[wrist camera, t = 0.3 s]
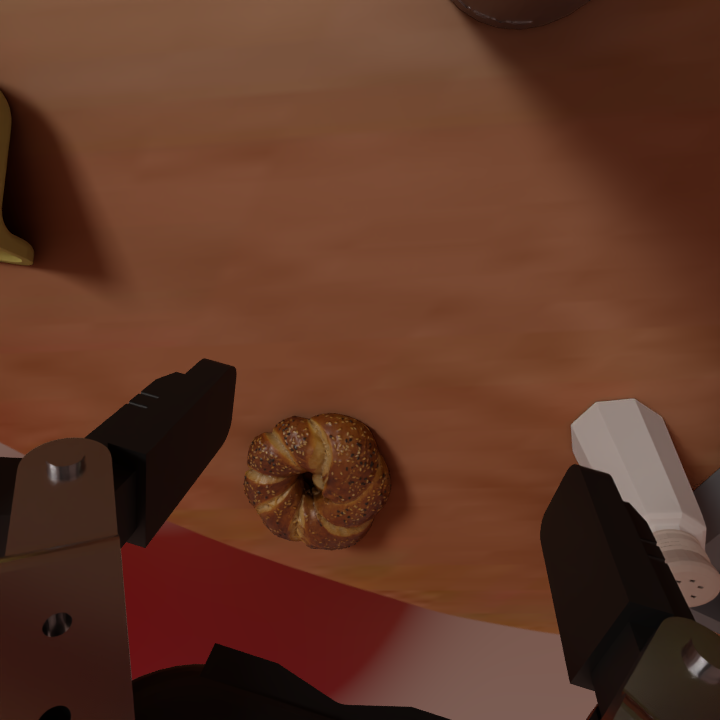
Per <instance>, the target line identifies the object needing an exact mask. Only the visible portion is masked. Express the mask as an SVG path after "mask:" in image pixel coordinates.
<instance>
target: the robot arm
mask: <svg viewBox="0 0 720 720" xmlns="http://www.w3.org/2000/svg"><path fill="white" fill-rule="evenodd" d="M452 1H453V2H454V3H455V5H456V6H457V7H458V8H459V9H461V10H462V11H464V12H465V13H467V14H468V15H470V16H471V17H473V18H474V19H476V20H477V21H480V22H483V23H486V24H489V25H491V26H494V27H497V28H509V29H525V28H531V27H537V26H542V25H546V24H548V23H551V22H553V21H555V20H558V19H560V18H563V17H565V16H568V15H569V14H571V13H572V12H574V11H575V10H577V9H578V8H580V7H581V6H583V5H584V4H586V3H587V2H589V1H590V0H452ZM235 384H236V368H235V367H234V366H230V365H227V364H223V363H220V362H216V361H212V360H209V359H202V360H200V361H199V362H198V363H197V364H196V365H195V366H194V367H192V368H191V369H190V370H189V371H188V372H187V373H186V374H182V373H178V372H175V373H172V374H169V375H167V376H164V377H161V378H159V379H156V380H155V381H153V382H152V383H151V384H150V385H149V386H147V387H146V388H145V389H144V390H142V391H141V394H138V395H136V396H135V397H134V398H133V399H131V400H130V401H129V404H125V405H124V406H123V407H122V408H120V409H119V410H118V411H117V412H116V413H114V414H113V415H112V416H111V417H109V418H108V419H107V420H106V421H105V422H103V423H102V424H101V425H100V426H98V427H97V428H96V429H95V430H93V431H92V432H91V433H90V434H89V435H87V436H86V437H85V438H64V439H58V440H54V441H50V442H48V443H45V444H42V445H40V446H38V447H36V448H35V449H33V450H31V451H30V452H29V453H27V454H26V455H25V456H24V457H23V458H8V457H0V720H450V719H447V718H444V717H441V716H438V715H435V714H432V713H429V712H426V711H422V710H419V709H416V708H413V707H395V706H364V705H344V704H340V703H337V702H335V701H334V700H332V699H331V698H329V697H328V696H326V695H325V694H323V693H322V692H320V691H318V690H317V689H316V688H314V687H313V686H311V685H310V684H308V683H307V682H305V681H303V680H302V679H301V678H299V677H297V676H296V675H294V674H293V673H291V672H290V671H288V670H287V669H285V668H284V667H282V666H281V665H279V664H278V663H275V662H272V661H269V660H265V659H263V658H260V657H256V656H253V655H250V654H247V653H244V652H241V651H238V650H235V649H232V648H229V647H225V646H222V645H220V644H216V643H215V645H214V647H213V649H212V651H211V653H210V655H209V657H208V659H207V661H206V664H192V665H182V666H175V667H171V668H166V669H162V670H158V671H155V672H152V673H149V674H146V675H143V676H141V677H138V678H136V679H134V680H132V678H131V666H130V654H129V644H128V643H129V642H128V630H127V618H126V606H125V595H124V583H123V571H122V560H121V548H122V546H123V545H124V544H125V543H126V542H128V543H131V544H134V545H138V546H141V547H144V548H146V546H147V545H148V544H149V542H150V541H151V540H152V538H153V537H154V536H155V534H156V533H157V532H158V530H159V529H160V528H161V526H162V525H163V524H164V522H165V521H166V520H167V518H168V517H169V516H170V514H171V513H172V512H173V510H174V509H175V508H176V506H177V505H178V504H179V502H180V501H181V500H182V498H183V497H184V496H185V494H186V493H187V492H188V490H189V489H190V488H191V486H192V485H193V484H194V482H195V481H196V480H197V478H198V477H199V476H200V474H201V473H202V472H203V470H204V469H205V468H206V466H207V465H208V464H209V462H210V461H211V460H212V458H213V457H214V456H215V454H216V453H217V452H218V450H219V449H220V448H221V446H222V445H223V443H224V442H225V440H226V437H227V435H228V432H229V429H230V426H231V420H232V412H233V403H234V393H235ZM540 540H541V545H542V550H543V555H544V560H545V564H546V569H547V574H548V579H549V584H550V589H551V593H552V598H553V603H554V608H555V613H556V618H557V622H558V627H559V632H560V637H561V641H562V646H563V651H564V656H565V661H566V666H567V670H568V676H569V680H570V683H571V684H574V685H577V686H580V687H583V688H586V689H589V690H593V691H595V693H596V698H597V702H598V704H597V705H596V706H595V708H594V709H593V710H592V711H591V713H590V714H589V716H588V717H587V719H586V720H720V636H719V635H717V634H716V633H715V632H713V631H712V630H710V629H709V628H707V627H705V626H703V625H702V624H700V623H697V622H696V621H695V619H694V617H693V615H692V613H691V611H690V609H689V606H688V604H687V602H686V600H685V598H684V596H683V594H682V592H681V590H680V588H679V586H678V584H677V582H676V580H675V578H674V576H673V574H672V572H671V570H670V568H669V566H668V564H667V563H665V558H664V556H663V554H662V551H661V549H660V547H659V546H657V545H656V544H657V541H656V539H655V537H654V535H653V533H652V531H651V529H650V527H649V525H648V523H647V522H646V521H645V519H644V518H643V517H642V516H641V515H640V514H639V513H638V512H637V511H636V509H635V508H634V507H633V506H632V505H631V504H630V503H629V502H625V501H623V500H622V498H621V496H620V493H619V491H618V489H617V487H616V485H615V482H614V480H613V478H612V476H611V475H610V474H608V473H605V472H601V471H598V470H594V469H591V468H587V467H584V466H580V465H576V464H574V465H572V466H571V467H570V468H569V469H568V470H567V472H566V474H565V476H564V478H563V479H562V481H561V483H560V485H559V487H558V489H557V491H556V493H555V495H554V497H553V498H552V500H551V502H550V504H549V506H548V508H547V510H546V512H545V514H544V516H543V520H542V524H541V530H540Z"/></svg>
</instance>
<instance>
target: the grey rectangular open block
mask: <svg viewBox="0 0 720 720" xmlns="http://www.w3.org/2000/svg"><path fill="white" fill-rule="evenodd" d="M693 494H694V496H695V498H696V501H697V503H698V506H699V508H700V511H701V513H702V516H703V519H704V522H705V525H706V528H707V529H706V542H705V552H706V554H707V555H708V558H709V559H710V562H711V564H712V565H713V566H714V567H715V569H716V570H717V571H718V572H719V574H720V468H719V469H718V470H717V471H716V472H715V473H714V474H713V475H711V476H710V477H709V478H708V479H707V480H706V481H705V482H704V483H702V484H701V485H700V486H699V487H698V488H697V489H696V490H695V491H694V492H693ZM689 609H690V611H691V613H692V615H693V617H694V619H695V621H696V622H697V623H700V624H702V625H703V626H705V627H707V628H709V629H710V630H712V631H714V632H716V633H718V634H720V592H719V593H718V595H717V596H716V597H715V598H714V599H713V600H711V601H709V602H708V603H706V604H703V605H700V606H696V607H689Z"/></svg>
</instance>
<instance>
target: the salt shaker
mask: <svg viewBox="0 0 720 720" xmlns="http://www.w3.org/2000/svg"><path fill="white" fill-rule="evenodd" d="M571 434H572V448H573V453H574V455H575V457H576V459H577V461H578V463H579V465H580V466H584V467H587V468H591V469H594V470H598V471H601V472H605V473H608V474H610V475H611V476H612V478H613V480H614V482H615V485H616V487H617V489H618V491H619V493H620V496H621V498H622V500H623V501H625V502H629V503H630V504H631V505H632V506H633V507H634V508H635V509H636V511H637V512H638V513H639V514H640V515H641V516H642V517H643V518H644V519H645V521H646V522H647V523H648V525H649V527H650V529H651V531H652V533H653V535H654V537H655V539H656V541H657V544H656V545H657V546H659V547H660V549H661V551H662V554H663V556H664V558H665V563H667V564H668V566H669V568H670V570H671V572H672V574H673V576H674V578H675V580H676V582H677V584H678V586H679V588H680V590H681V592H682V594H683V596H684V598H685V600H686V602H687V604H688V606H689V607H696V606H700V605H703V604H706V603H708V602H709V601H711V600H713V599H714V598H715V597H716V596H717V595H718V593H719V592H720V574H719V572H718V571H717V570H716V569H715V567H714V566H713V565H712V564H711V562H710V559H709V558H708V555H707V554H706V552H705V542H706V529H707V528H706V525H705V522H704V519H703V516H702V513H701V511H700V508H699V506H698V503H697V501H696V498H695V496H694V494H693V491H692V489H691V486H690V484H689V481H688V479H687V476H686V474H685V472H684V469H683V467H682V464H681V462H680V459H679V457H678V454H677V452H676V450H675V447H674V445H673V442H672V440H671V437H670V435H669V432H668V430H667V428H666V425H665V423H664V420H663V418H662V417H661V416H660V415H658V414H657V413H655V412H654V411H652V410H651V409H649V408H648V407H646V406H645V405H643V404H642V403H640V402H639V401H637V400H636V399H623V400H613V401H602V402H595V403H594V404H593V405H592V406H591V407H590V408H589V409H588V410H587V411H586V412H584V413H583V414H582V415H581V416H580V417H579V418H578V419H577V420H576V421H574V422H573V423H572V424H571Z"/></svg>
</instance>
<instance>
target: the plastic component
mask: <svg viewBox="0 0 720 720" xmlns="http://www.w3.org/2000/svg"><path fill="white" fill-rule="evenodd" d="M11 124H12V118H11V112H10V107H9V105H8V102H7V100H6V98H5V97H4V95H3V93H2V92H1V91H0V262H6V263H12V264H18V265H32V264H33V259H34V250H33V248H32V246H31V245H30V244H29V243H28V242H26V241H25V240H23V239H21V238H19V237H17V236H15V235H13V234H11V233H10V232H9V231H8V229H7V228H6V226H5V224H4V221H3V217H2V202H3V194H4V185H5V176H6V168H7V159H8V150H9V142H10V133H11Z"/></svg>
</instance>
